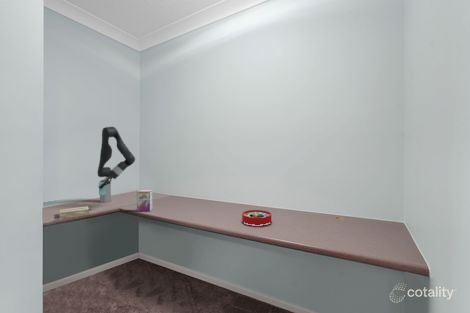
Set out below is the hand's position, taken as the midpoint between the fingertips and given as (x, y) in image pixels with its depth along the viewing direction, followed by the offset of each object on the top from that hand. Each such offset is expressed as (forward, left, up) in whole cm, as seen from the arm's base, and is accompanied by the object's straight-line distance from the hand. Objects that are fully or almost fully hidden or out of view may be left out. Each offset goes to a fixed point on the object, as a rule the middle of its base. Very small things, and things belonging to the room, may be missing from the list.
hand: (99, 187), depth 190 cm
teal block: (0, +2, -6) cm, 6 cm away
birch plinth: (+3, -17, -19) cm, 26 cm away
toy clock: (+99, +84, -19) cm, 132 cm away
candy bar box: (+23, +30, -19) cm, 42 cm away
